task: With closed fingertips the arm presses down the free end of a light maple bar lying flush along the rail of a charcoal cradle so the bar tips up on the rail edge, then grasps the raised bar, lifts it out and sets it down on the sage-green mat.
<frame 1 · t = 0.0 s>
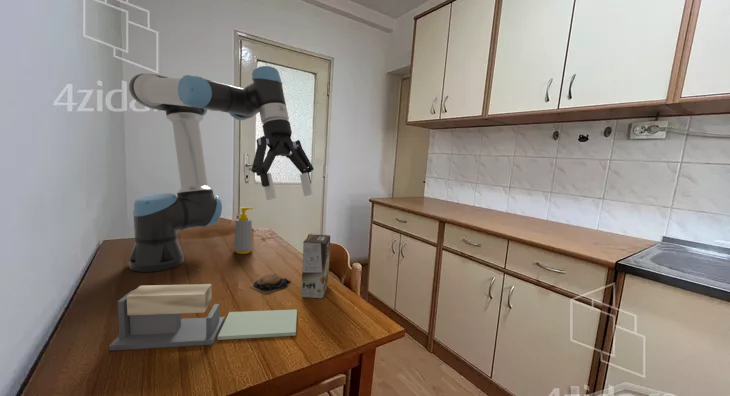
hand: (291, 197, 83), 28 cm above the table, tool tilted 20°, fingers open, 13 cm apart
sage mat: (260, 324, 70), on the table
soap bottle: (243, 252, 119), on the table
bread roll: (271, 287, 91), on the table
maple bar: (172, 307, 63), point 6 cm above the table, touching cradle
cradle: (178, 333, 64), on the table
coffee box: (315, 291, 89), on the table
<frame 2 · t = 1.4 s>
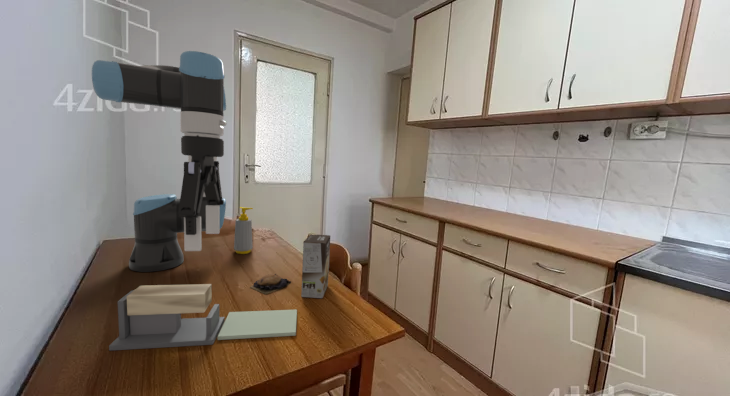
hand: (203, 241, 63), 20 cm above the table, tool pointing down, fingers open, 12 cm apart
nothing on the table moved.
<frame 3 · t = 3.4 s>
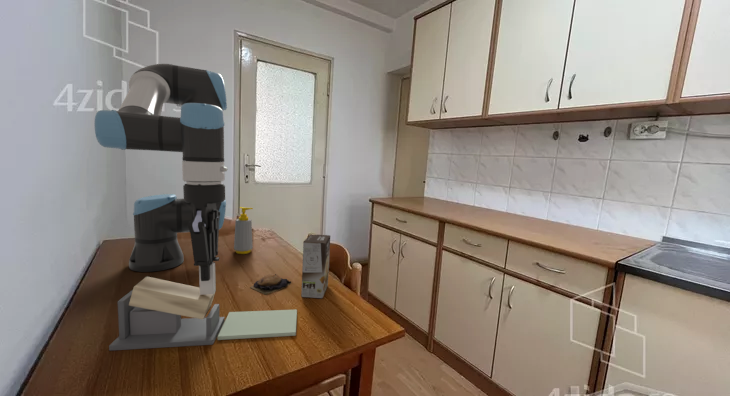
hand: (207, 292, 64), 9 cm above the table, tool pointing down, fingers closed
maple bar: (172, 306, 63), point 6 cm above the table, tilted 15°, touching cradle, gripper
everything else where it was.
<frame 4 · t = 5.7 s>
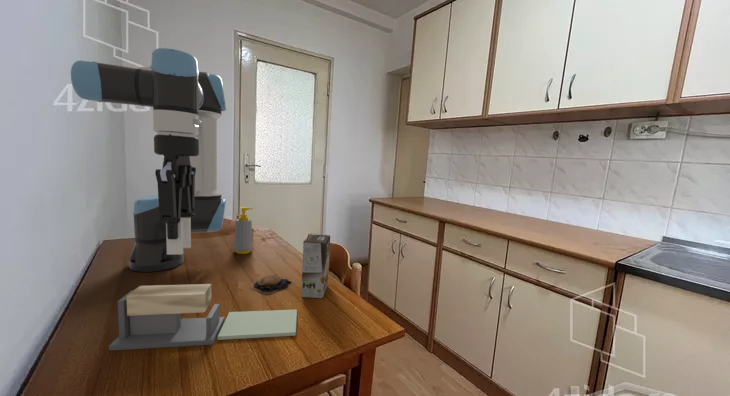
hand: (179, 250, 62), 19 cm above the table, tool pointing down, fingers open, 3 cm apart
maple bar: (171, 307, 63), point 6 cm above the table, touching cradle
everything else where it was.
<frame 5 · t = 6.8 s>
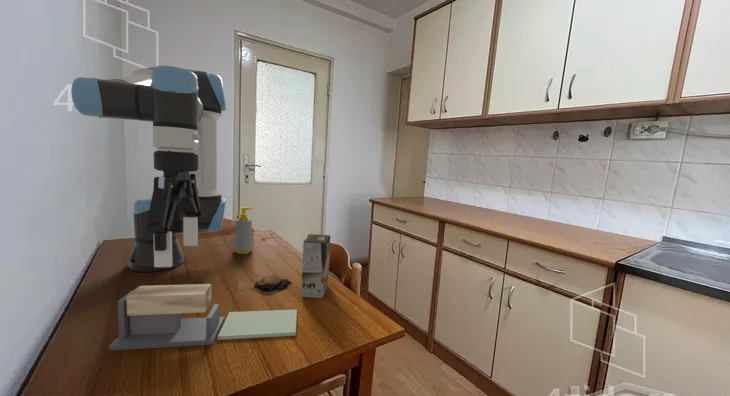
hand: (178, 254, 62), 18 cm above the table, tool pointing down, fingers open, 13 cm apart
nothing on the table moved.
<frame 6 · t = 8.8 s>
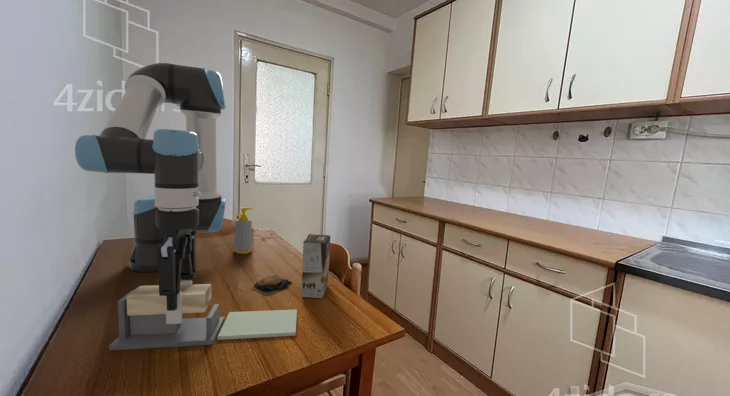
hand: (180, 315, 64), 4 cm above the table, tool pointing down, fingers closed on maple bar, 5 cm apart
maple bar: (172, 307, 63), point 6 cm above the table, touching cradle, gripper
everything else where it was.
when the fingers open (7 cm above the table, at t = 14.4 s): maple bar drops 8 cm, resting on sage mat.
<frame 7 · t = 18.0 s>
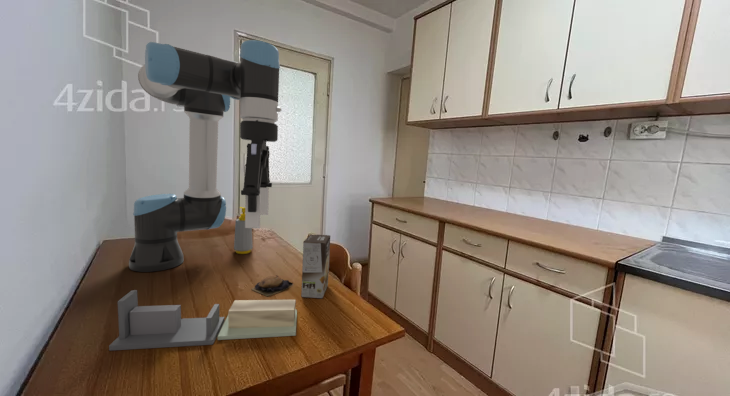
hand: (257, 220, 66), 25 cm above the table, tool pointing down, fingers open, 13 cm apart
maple bar: (263, 321, 70), point 1 cm above the table, touching sage mat
at the end: maple bar inside the target area (0.1 cm from its centre), point 0.8 cm above the table; maple bar moved 19.1 cm from its start; the gripper is holding nothing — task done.
